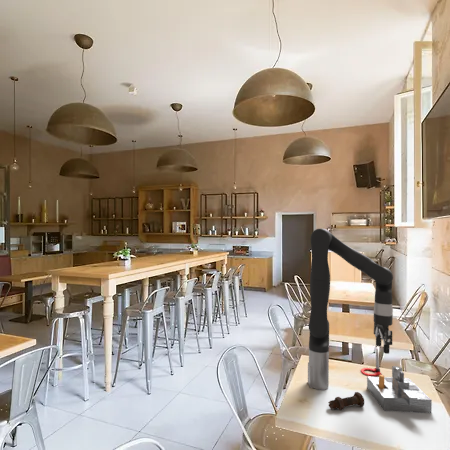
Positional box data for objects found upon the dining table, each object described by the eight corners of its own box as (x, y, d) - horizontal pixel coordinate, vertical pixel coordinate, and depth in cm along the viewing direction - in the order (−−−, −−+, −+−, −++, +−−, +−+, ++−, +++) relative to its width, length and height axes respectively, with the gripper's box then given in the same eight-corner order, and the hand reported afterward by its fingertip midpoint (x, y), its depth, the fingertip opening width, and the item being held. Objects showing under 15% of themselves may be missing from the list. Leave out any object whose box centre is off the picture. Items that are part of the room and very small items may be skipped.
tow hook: (364, 377, 166) (383, 377, 165) (363, 352, 166) (381, 351, 165) (358, 370, 174) (376, 369, 173) (357, 346, 174) (375, 345, 174)
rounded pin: (385, 399, 143) (385, 377, 143) (380, 399, 143) (380, 377, 143) (382, 397, 145) (383, 374, 145) (377, 397, 146) (378, 374, 146)
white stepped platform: (388, 417, 130) (389, 382, 130) (367, 387, 154) (367, 358, 154) (438, 420, 128) (438, 384, 128) (408, 389, 152) (409, 359, 152)
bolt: (329, 413, 136) (359, 407, 140) (335, 413, 132) (366, 406, 136) (324, 397, 139) (354, 392, 143) (330, 397, 134) (361, 391, 139)
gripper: (399, 317, 137) (398, 356, 137) (385, 309, 151) (384, 344, 151) (380, 317, 137) (379, 355, 137) (368, 308, 151) (367, 343, 151)
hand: (382, 349), depth 144 cm, fingers open, 8 cm apart
